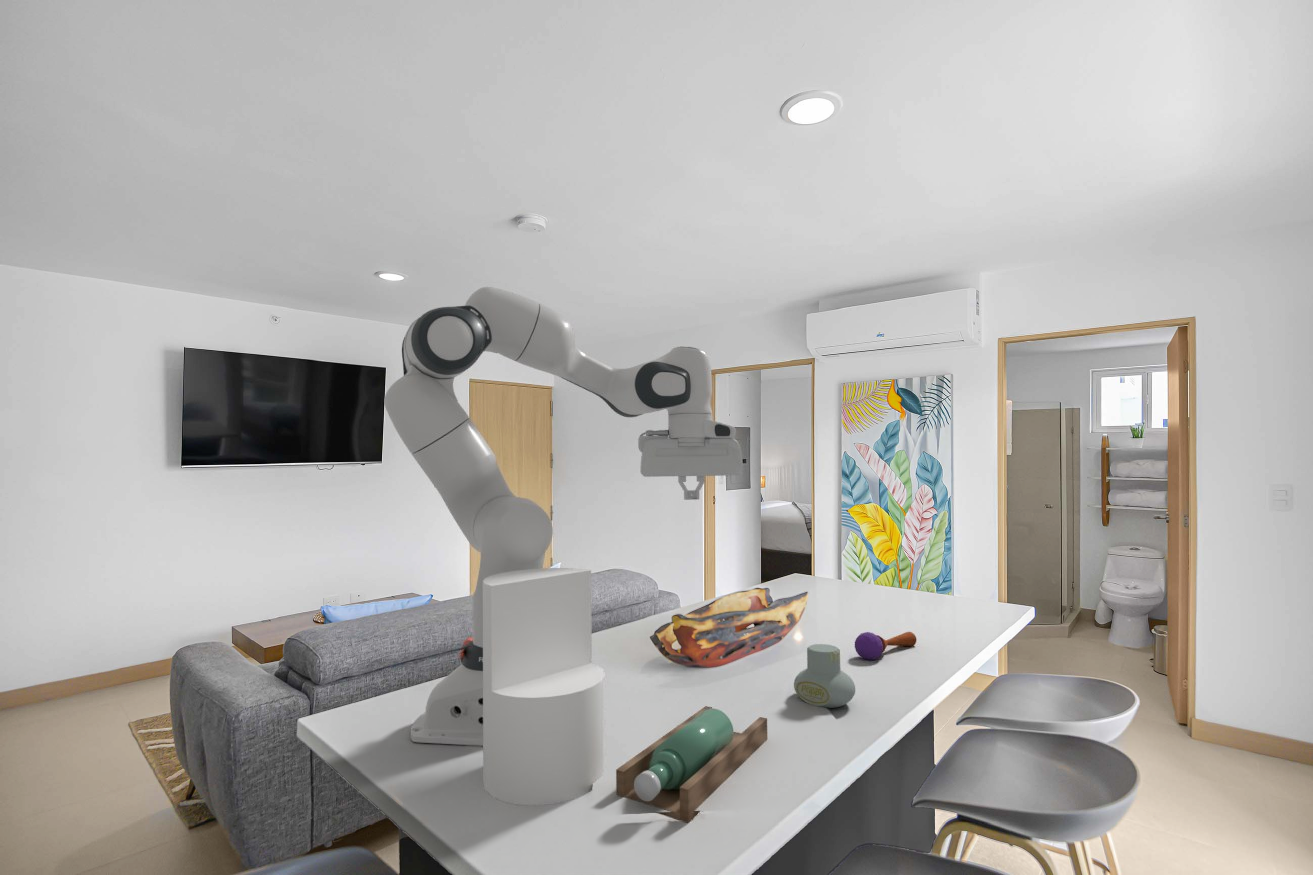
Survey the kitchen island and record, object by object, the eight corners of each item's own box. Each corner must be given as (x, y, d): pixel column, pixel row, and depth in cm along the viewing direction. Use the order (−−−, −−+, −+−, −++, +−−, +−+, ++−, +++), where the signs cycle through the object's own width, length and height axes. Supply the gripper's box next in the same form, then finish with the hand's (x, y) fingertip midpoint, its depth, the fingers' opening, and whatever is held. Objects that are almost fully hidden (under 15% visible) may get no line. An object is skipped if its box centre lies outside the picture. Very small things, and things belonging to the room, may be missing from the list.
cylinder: (460, 774, 94) (460, 578, 95) (559, 738, 106) (557, 564, 108) (528, 820, 82) (527, 594, 83) (630, 773, 94) (628, 576, 95)
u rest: (706, 730, 109) (705, 706, 109) (767, 744, 103) (767, 718, 103) (616, 800, 86) (616, 769, 87) (688, 822, 81) (688, 789, 81)
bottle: (711, 755, 100) (640, 820, 82) (690, 719, 102) (616, 774, 84) (741, 738, 98) (674, 801, 80) (718, 701, 100) (648, 754, 82)
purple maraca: (923, 631, 155) (874, 639, 143) (919, 655, 156) (869, 665, 143) (901, 622, 160) (852, 629, 148) (896, 645, 160) (847, 654, 148)
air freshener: (786, 701, 121) (785, 647, 122) (810, 690, 127) (809, 638, 128) (840, 717, 114) (838, 658, 114) (863, 704, 120) (861, 648, 120)
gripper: (638, 429, 127) (639, 501, 126) (743, 428, 128) (745, 499, 127) (637, 431, 133) (638, 499, 132) (738, 430, 134) (739, 497, 133)
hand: (691, 499), depth 130 cm, fingers closed
